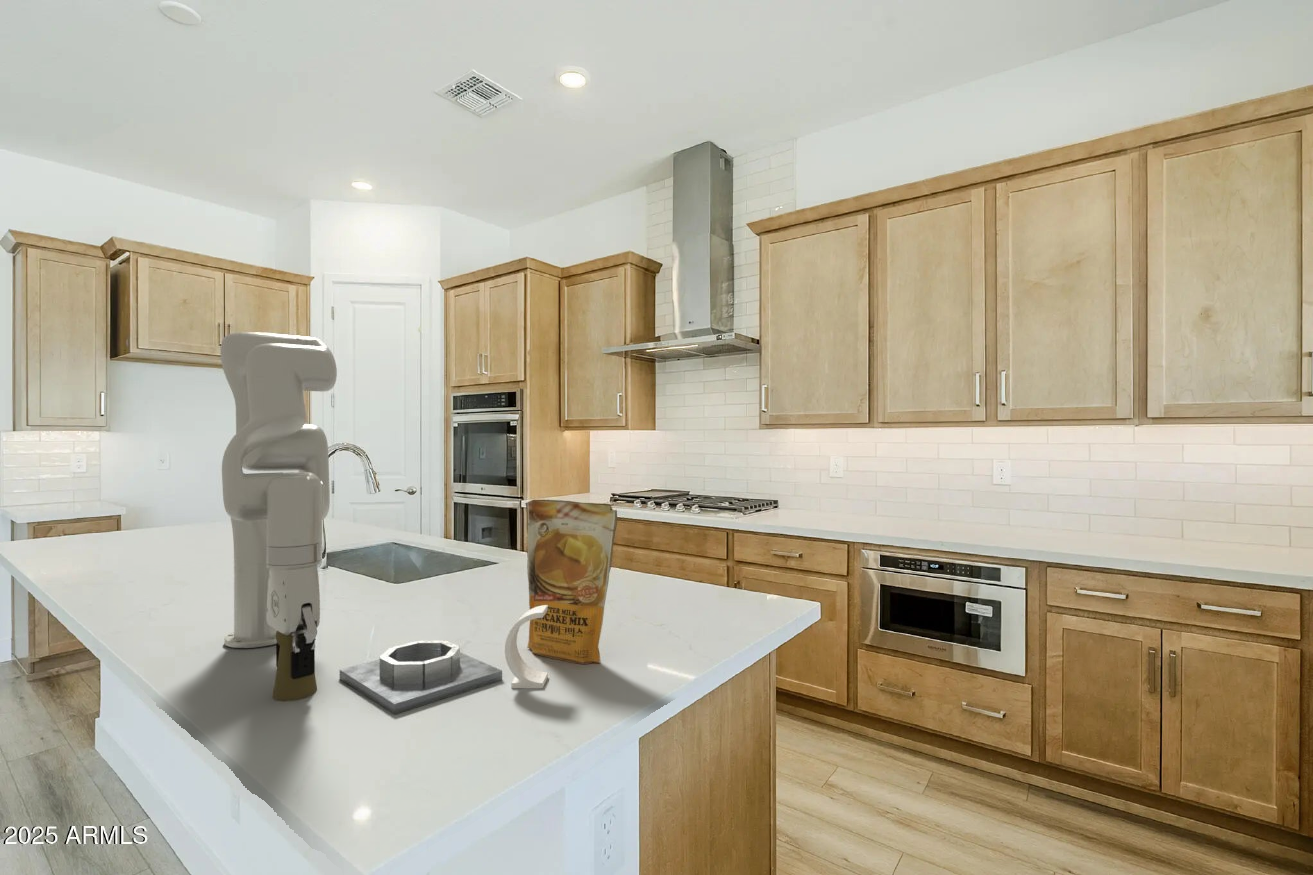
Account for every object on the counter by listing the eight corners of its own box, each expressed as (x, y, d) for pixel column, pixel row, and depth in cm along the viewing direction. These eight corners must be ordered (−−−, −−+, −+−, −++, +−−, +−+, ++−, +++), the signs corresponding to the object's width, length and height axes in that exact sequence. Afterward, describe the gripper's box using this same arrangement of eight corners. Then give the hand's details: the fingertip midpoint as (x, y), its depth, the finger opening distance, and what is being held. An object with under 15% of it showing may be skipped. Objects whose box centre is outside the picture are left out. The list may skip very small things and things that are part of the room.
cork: (326, 688, 102) (326, 618, 102) (293, 703, 96) (293, 629, 96) (297, 683, 104) (296, 615, 104) (263, 697, 98) (263, 625, 98)
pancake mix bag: (537, 641, 126) (536, 497, 125) (620, 657, 116) (619, 502, 116) (513, 651, 120) (513, 500, 120) (599, 669, 110) (598, 505, 110)
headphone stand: (542, 688, 102) (542, 612, 102) (504, 688, 102) (504, 612, 102) (548, 677, 107) (547, 604, 107) (511, 677, 107) (511, 604, 107)
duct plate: (339, 678, 106) (339, 651, 106) (440, 651, 119) (440, 627, 119) (394, 714, 92) (394, 683, 92) (502, 679, 106) (502, 652, 106)
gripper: (250, 551, 103) (250, 664, 103) (287, 566, 92) (287, 693, 92) (301, 545, 109) (301, 652, 109) (342, 558, 97) (342, 678, 97)
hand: (295, 669), depth 100 cm, fingers open, 5 cm apart
